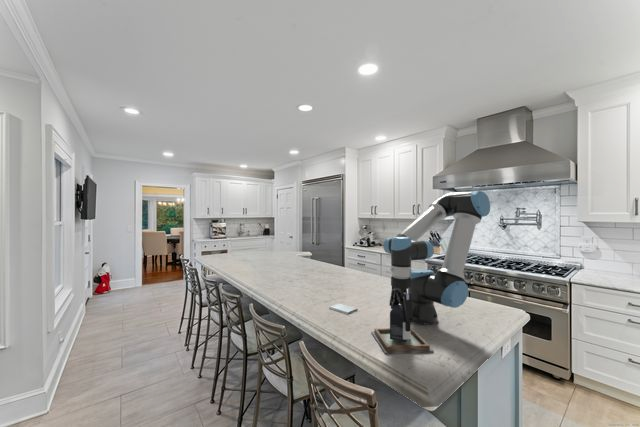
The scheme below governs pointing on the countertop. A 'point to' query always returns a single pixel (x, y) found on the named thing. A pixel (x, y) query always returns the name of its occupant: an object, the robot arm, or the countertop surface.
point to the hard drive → (343, 308)
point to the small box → (396, 323)
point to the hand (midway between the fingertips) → (400, 331)
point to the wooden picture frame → (400, 343)
